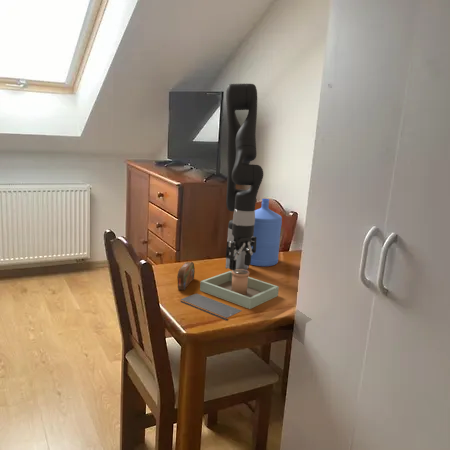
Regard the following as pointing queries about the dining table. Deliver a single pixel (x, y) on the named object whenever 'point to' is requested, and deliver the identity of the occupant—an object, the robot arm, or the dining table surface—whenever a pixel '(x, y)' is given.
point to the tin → (185, 275)
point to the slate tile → (210, 306)
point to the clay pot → (240, 281)
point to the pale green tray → (222, 289)
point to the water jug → (266, 236)
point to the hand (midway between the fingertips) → (240, 267)
